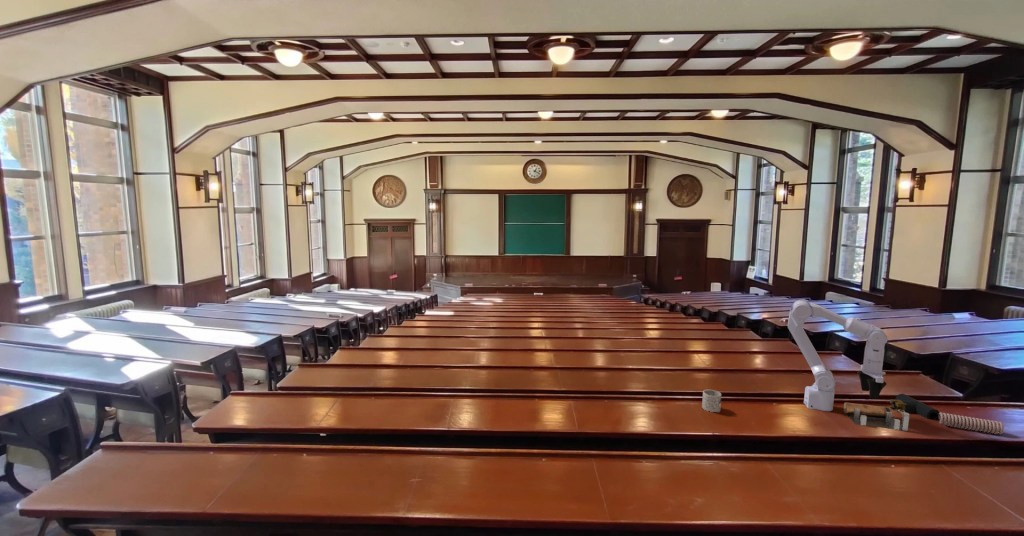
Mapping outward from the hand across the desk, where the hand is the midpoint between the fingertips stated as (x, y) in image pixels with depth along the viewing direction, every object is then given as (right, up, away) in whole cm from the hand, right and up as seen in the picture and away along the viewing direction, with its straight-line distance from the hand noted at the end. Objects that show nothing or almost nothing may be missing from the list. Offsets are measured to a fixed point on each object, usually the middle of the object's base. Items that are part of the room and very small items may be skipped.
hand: (869, 394), depth 176 cm
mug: (-56, -8, +10) cm, 58 cm away
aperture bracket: (+5, -10, -9) cm, 14 cm away
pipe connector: (+20, -9, +6) cm, 23 cm away
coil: (+31, -11, -7) cm, 33 cm away
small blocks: (-2, -10, -5) cm, 11 cm away
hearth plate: (0, -10, -3) cm, 10 cm away
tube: (0, -8, +1) cm, 8 cm away
